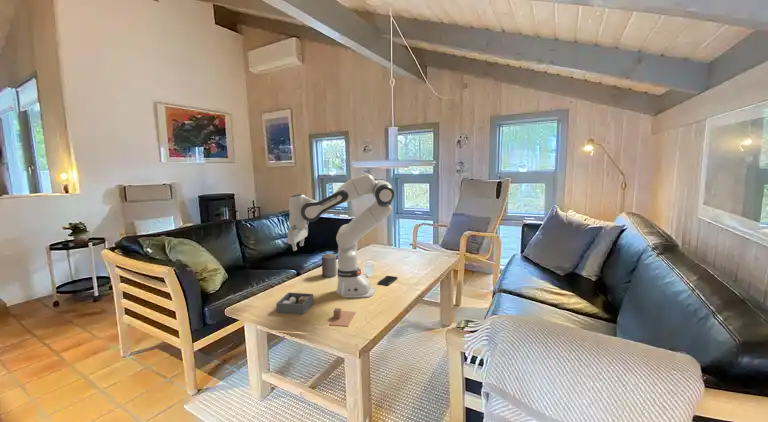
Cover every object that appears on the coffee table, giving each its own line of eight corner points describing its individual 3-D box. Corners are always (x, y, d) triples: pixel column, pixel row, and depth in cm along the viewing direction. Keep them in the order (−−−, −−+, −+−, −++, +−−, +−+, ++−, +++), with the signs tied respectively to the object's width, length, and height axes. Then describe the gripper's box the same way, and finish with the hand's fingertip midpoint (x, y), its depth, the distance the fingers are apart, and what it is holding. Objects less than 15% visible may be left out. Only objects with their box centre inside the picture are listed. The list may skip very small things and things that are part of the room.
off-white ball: (297, 303, 179) (297, 295, 178) (294, 306, 175) (294, 299, 174) (290, 302, 180) (290, 295, 179) (287, 305, 176) (287, 298, 175)
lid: (355, 313, 169) (355, 304, 168) (348, 327, 154) (347, 317, 154) (328, 311, 171) (327, 302, 170) (318, 325, 157) (317, 315, 156)
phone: (398, 277, 216) (388, 284, 203) (398, 278, 217) (388, 286, 203) (387, 275, 220) (376, 283, 207) (387, 277, 220) (376, 284, 207)
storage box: (313, 303, 179) (313, 293, 179) (303, 315, 166) (302, 305, 165) (289, 302, 182) (288, 292, 181) (276, 313, 168) (276, 303, 167)
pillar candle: (319, 274, 225) (319, 253, 222) (333, 271, 230) (332, 250, 228) (326, 279, 217) (325, 256, 214) (339, 275, 222) (339, 254, 220)
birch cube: (309, 303, 178) (308, 296, 177) (306, 307, 174) (305, 299, 173) (302, 303, 179) (301, 296, 178) (298, 306, 175) (298, 299, 174)
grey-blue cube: (292, 308, 173) (292, 300, 172) (289, 311, 169) (288, 304, 168) (285, 307, 173) (284, 300, 173) (281, 311, 169) (281, 303, 169)
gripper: (295, 227, 173) (296, 253, 175) (309, 220, 193) (310, 243, 195) (284, 227, 174) (284, 252, 176) (299, 220, 194) (299, 243, 196)
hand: (298, 248), depth 186 cm, fingers open, 8 cm apart
